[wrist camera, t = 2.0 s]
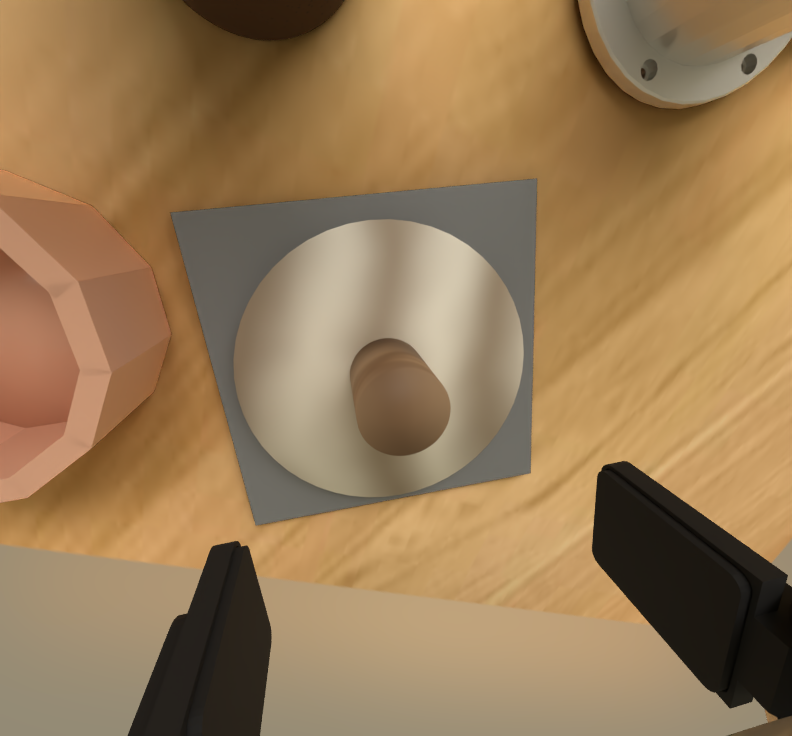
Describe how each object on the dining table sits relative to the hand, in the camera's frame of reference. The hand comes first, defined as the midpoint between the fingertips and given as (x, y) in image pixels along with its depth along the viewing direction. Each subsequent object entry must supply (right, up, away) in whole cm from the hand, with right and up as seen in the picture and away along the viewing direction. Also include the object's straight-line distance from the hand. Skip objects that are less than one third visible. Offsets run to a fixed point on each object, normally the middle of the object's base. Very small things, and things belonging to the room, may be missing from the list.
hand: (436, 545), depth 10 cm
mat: (-2, +5, +12) cm, 13 cm away
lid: (-2, +5, +12) cm, 13 cm away
